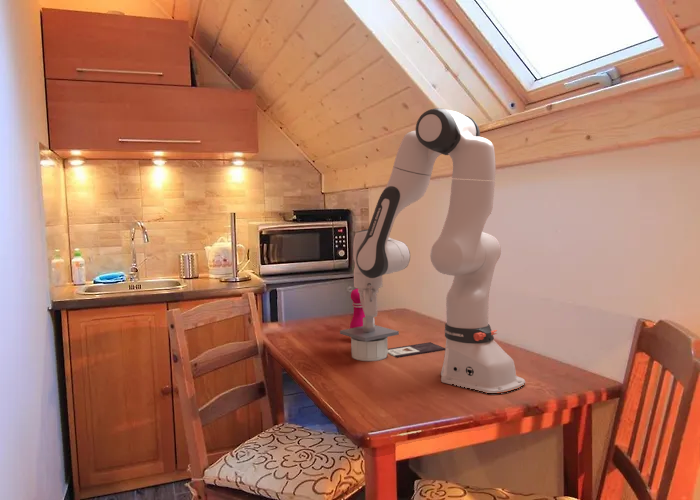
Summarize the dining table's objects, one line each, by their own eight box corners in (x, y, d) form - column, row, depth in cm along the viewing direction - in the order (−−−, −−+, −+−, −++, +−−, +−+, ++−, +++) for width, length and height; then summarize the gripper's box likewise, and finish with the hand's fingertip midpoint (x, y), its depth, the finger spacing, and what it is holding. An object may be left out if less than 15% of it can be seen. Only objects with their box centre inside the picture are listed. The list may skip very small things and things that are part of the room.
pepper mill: (362, 344, 178) (361, 285, 176) (345, 341, 182) (344, 284, 180) (374, 339, 183) (373, 283, 182) (358, 337, 188) (356, 281, 186)
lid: (398, 334, 162) (398, 318, 161) (365, 341, 154) (364, 324, 154) (372, 327, 172) (372, 312, 172) (339, 333, 165) (339, 317, 164)
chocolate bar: (445, 348, 169) (397, 356, 161) (446, 351, 169) (397, 359, 161) (430, 342, 177) (383, 349, 169) (430, 344, 177) (383, 352, 169)
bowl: (394, 356, 162) (394, 337, 162) (366, 363, 156) (365, 343, 156) (372, 349, 171) (372, 331, 171) (345, 355, 165) (344, 336, 164)
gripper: (381, 286, 152) (382, 333, 153) (375, 276, 172) (376, 318, 173) (360, 286, 151) (361, 333, 152) (356, 277, 172) (357, 319, 173)
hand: (369, 325), depth 163 cm, fingers closed on lid, 3 cm apart
